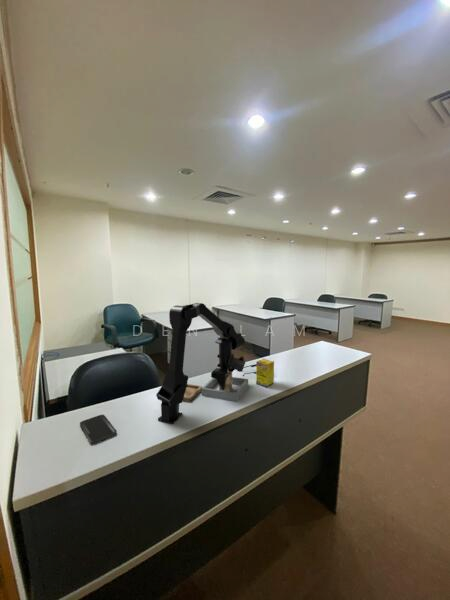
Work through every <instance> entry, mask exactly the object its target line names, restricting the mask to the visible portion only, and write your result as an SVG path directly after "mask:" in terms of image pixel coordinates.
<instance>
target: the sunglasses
mask: <svg viewBox="0 0 450 600" xmlns="http://www.w3.org/2000/svg"><path fill="white" fill-rule="evenodd" d="M249 367H251V368H255V367H256V363H255V364H251V365H246V366H244V368H243V370H244V369H245V368H249ZM243 370H242V371H241V373H242V372H243ZM247 374H255V375H256V371H252V372H244V374H243V375H242V377H245V375H247Z"/></svg>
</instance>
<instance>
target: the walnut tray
mask: <svg viewBox="0 0 450 600" xmlns="http://www.w3.org/2000/svg"><path fill="white" fill-rule="evenodd" d="M187 386H188V387H186V391H185V394H184V398H183V402H187V403H190V402H191V401H192V400H193V399H195V398H196V397H197V395H199V394H200V393H202V388H203V386H202V385H195V384H191V383H190V384H189V383H187Z"/></svg>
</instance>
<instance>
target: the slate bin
mask: <svg viewBox="0 0 450 600" xmlns="http://www.w3.org/2000/svg"><path fill="white" fill-rule="evenodd" d="M217 383H218V381H217V379H216V378H212V377H211V379H210V380H208V382H207V383H205V385H203V386H202V391H201V396H203V397H209V398H214V399H221V400H227V401H231V402H232V401H233V402H239V400H240V398H241V397H242V396H243V394H244V393H245V391H246V390H247V388H248V386H249V378H243V377H236V376H232V385H237V386H239V388H238V389H237V391H236V392H232V391H230V392H227V391H221V390H219V389H215V388H213V387H214V386H215V385H216V384H217Z"/></svg>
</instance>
